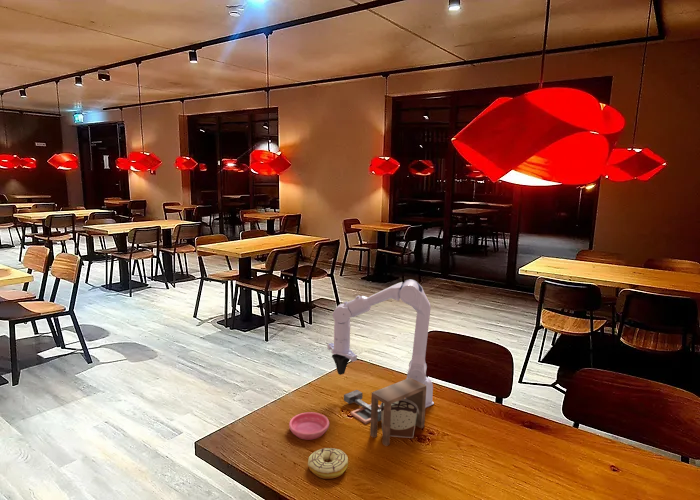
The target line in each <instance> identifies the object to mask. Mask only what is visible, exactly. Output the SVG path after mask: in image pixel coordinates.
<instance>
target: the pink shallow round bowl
mask: <svg viewBox="0 0 700 500" xmlns="http://www.w3.org/2000/svg"><path fill="white" fill-rule="evenodd" d="M288 427H289V430H290V431H291V433H292V434H293V435H295V436H296V437H297V438H299V439H302V440H308V441H309V440H310V441H311V440H316V439H319V438H320V437H322V436H323V435H324V434H325V433H326V432H327V430H329V427H330V421H329V419H328V417H327V416H326V415H324V414H322V413H319V412H314V411H309V412H302V413H299V414H296V415H294V416H293V417H292V418H291V419H290V421H289V423H288Z"/></svg>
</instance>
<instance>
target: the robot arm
mask: <svg viewBox="0 0 700 500" xmlns="http://www.w3.org/2000/svg"><path fill="white" fill-rule="evenodd" d="M390 299H392V300H395V301H397V302H399V301H400V300H401V301H402V302H403V303H404V304H406V305H408V306H411V308H412V309H413V310H414V311H416V319H415V329H414V337H413V346H412V355H411V360H410V361H409V364H408V370H407V374H406V378H405V379H408V378H412V379H414V380H416V381H418V382H420V383H422V384H424V385H427V386H426V404H425V409H426V408H429V407H430V406H432V405H434V404H435V403H434V401H433V393H434V392H433V391H434V384H433V382H432V380H431V379H430V377H428V376H427V368H428V366H427V363H426V355H427V353H426V352H427V344H428V335H429V327H430V326H429V325H430V317H431V310H432V309H431V308H432V304H431V303H430V301H429V299H428V297H427V295H426V293H425V291H424V288H423V286H422V285H421V284H420V283H419V282H418V281H416V280H415V279H406V280H404V282H403V281H401V282H398V283H395V284H393V285H391V286H389V287H386V288H384V289H382V290H380V291H378V292H376V293H374V294H372V295H370V296H365V295H356V296H355V298H354V299H352V300H349V301H346V300H345V301H343V303H340V304H338V305H337V307H336V308H335V309H334V310H333V312H332V317H333V318H332V319H333V320H334V325H333V342H330V343H327V350H331V354H332V355H331V358H332V359H333V361H334V363H335V367H336V368H335V369H336V371H337V375H339V376H341V375H344V374H345V373H346V369H347V366H348V363H349V362H350V361H351V362H356V361H357V360H358V359H357V358H358V357H357V356H358V355H357V354H356V353H354V352H353V350H352V349H351V348H350V347H351V318H355V317H358V316H360V315H362V314H365V313H367V312H370V310H371V307H372V306H375V305H377V304H380V303H383V302H386V301H388V300H390ZM404 399H406V398H404Z"/></svg>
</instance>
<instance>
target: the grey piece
mask: <svg viewBox="0 0 700 500" xmlns="http://www.w3.org/2000/svg"><path fill="white" fill-rule="evenodd" d="M343 401H344V402H345V403H347V404H349V405H351V404H353V403H355V404H356V405H358V406H360V408H362V407H363V408H365V409H366V410H368V411H369V412H371V406H370V405H369V404H368V403H366V402H365V401H364V400H363V392H362V391H360V390H358V389H355V390H352V391H350V392H348V393H345V394H343ZM378 422H382V421H381V409H380V410H378Z"/></svg>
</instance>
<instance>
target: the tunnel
mask: <svg viewBox="0 0 700 500" xmlns="http://www.w3.org/2000/svg"><path fill="white" fill-rule="evenodd" d="M426 386H427V385H424V384H422V383H420V382H418V381H416V380H414V379H412V378H408V379H406V378H405V379H403V380H400V381H398V382H395V383H393V384H390V385H388V386H387V385H386V386H385V387H383V388H379V389H377V390H375V391H373V392H371V397H370V398H371V401H370V402H371V403H370V404H371V422H370V428H369V429H370V434H369V435H370V436H371V437H372V438H376V437H378V424H379V423H378V405H379V402H381V403H384V418H383V434H382V445H383V446H385V447H387V446H389V445H391V444H390V443H391V442H390V439H391V436H390V423H391V404H392V403H395V402H397V401H399V400H402V399H405V398H406V399H408V400H410V401H412V402H414V403H415V404H416V405H417V407H418V410H419V413H418V412H417V418H416V424H415V427H417V428H420V429H423V428H425V419H426V408H425V404H426Z"/></svg>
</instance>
